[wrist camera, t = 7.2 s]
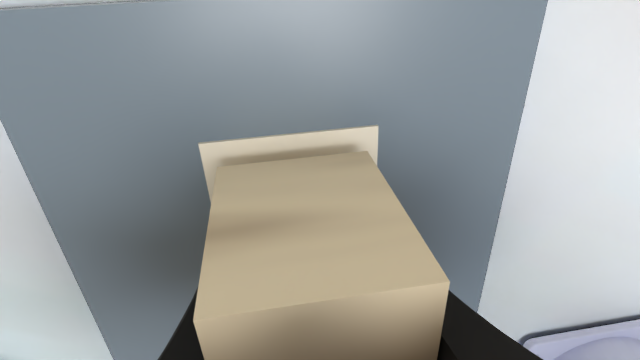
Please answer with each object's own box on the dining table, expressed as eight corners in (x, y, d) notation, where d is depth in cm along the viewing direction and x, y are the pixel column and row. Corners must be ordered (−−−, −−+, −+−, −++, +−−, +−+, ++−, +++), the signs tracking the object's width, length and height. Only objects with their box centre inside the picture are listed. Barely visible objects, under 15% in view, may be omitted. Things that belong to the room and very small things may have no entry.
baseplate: (463, 330, 17) (471, 344, 17) (136, 386, 16) (132, 403, 15) (537, -22, 10) (555, -21, 10) (-32, 10, 9) (-53, 13, 8)
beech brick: (363, 307, 13) (418, 470, 9) (247, 326, 13) (247, 506, 9) (367, 150, 11) (449, 281, 6) (217, 167, 10) (192, 320, 6)
